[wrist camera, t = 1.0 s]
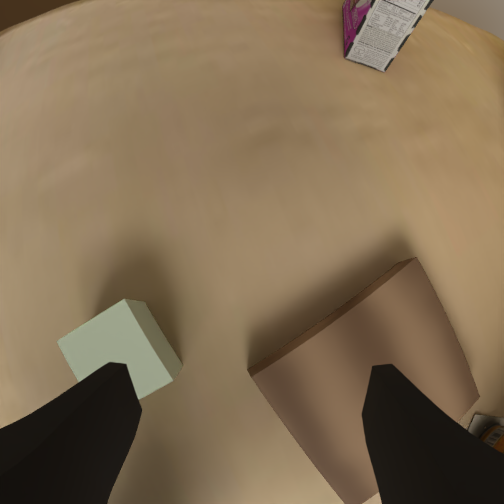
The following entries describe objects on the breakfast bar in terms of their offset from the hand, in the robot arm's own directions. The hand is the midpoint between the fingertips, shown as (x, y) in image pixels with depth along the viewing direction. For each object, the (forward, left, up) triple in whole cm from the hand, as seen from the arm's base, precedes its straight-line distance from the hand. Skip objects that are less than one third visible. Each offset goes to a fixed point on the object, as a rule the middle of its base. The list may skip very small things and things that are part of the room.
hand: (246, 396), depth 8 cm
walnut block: (+7, -9, -13) cm, 17 cm away
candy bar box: (+28, +19, -13) cm, 36 cm away
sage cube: (-6, +3, -13) cm, 14 cm away
